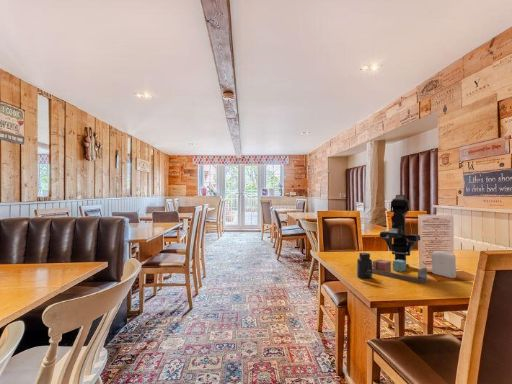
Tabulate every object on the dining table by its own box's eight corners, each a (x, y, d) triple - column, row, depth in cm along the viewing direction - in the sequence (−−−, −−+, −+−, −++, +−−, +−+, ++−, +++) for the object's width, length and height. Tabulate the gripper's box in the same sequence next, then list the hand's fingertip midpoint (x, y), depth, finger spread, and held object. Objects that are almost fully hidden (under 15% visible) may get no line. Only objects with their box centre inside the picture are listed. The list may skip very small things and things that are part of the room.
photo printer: (430, 274, 143) (430, 249, 143) (435, 273, 145) (435, 249, 145) (452, 279, 134) (452, 253, 134) (457, 278, 136) (457, 252, 136)
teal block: (398, 269, 152) (398, 259, 152) (405, 271, 149) (405, 260, 149) (392, 271, 148) (392, 261, 148) (400, 273, 145) (400, 262, 145)
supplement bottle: (370, 281, 132) (370, 255, 132) (355, 278, 135) (355, 253, 135) (373, 277, 137) (373, 252, 138) (358, 275, 141) (358, 251, 141)
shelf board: (381, 270, 151) (381, 258, 151) (431, 280, 132) (431, 267, 132) (370, 273, 144) (370, 261, 144) (422, 285, 125) (422, 271, 125)
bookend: (424, 278, 133) (424, 267, 133) (429, 280, 131) (429, 268, 131) (417, 281, 128) (417, 269, 128) (423, 283, 127) (423, 271, 127)
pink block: (383, 270, 148) (383, 260, 148) (390, 272, 144) (390, 261, 145) (377, 272, 144) (377, 261, 144) (385, 274, 141) (385, 263, 141)
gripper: (374, 222, 151) (374, 251, 151) (411, 225, 136) (411, 257, 136) (384, 221, 158) (384, 248, 158) (420, 223, 143) (420, 254, 143)
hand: (399, 252), depth 149 cm, fingers open, 9 cm apart
